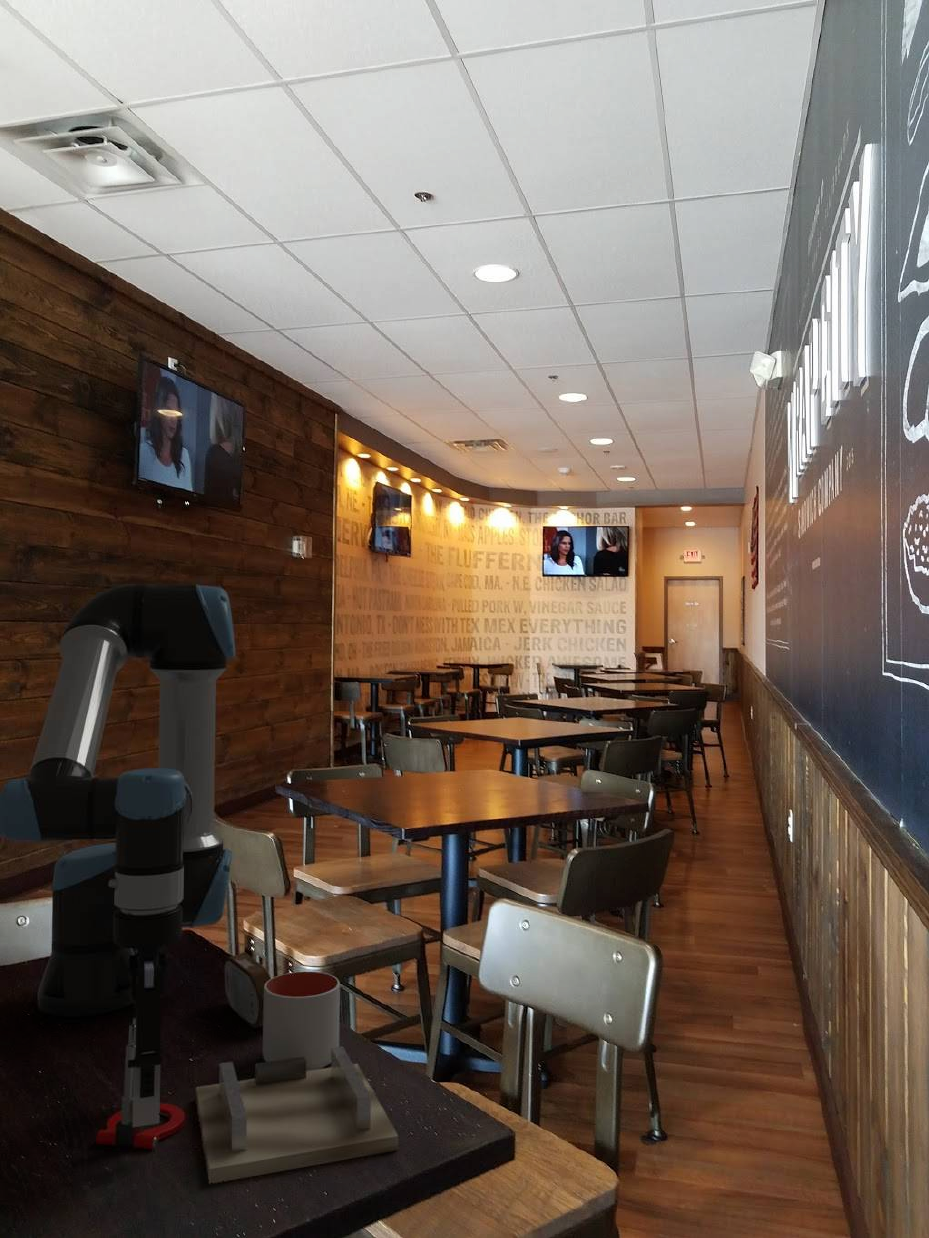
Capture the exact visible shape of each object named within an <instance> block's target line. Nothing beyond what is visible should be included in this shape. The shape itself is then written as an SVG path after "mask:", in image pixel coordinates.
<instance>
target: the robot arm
mask: <svg viewBox="0 0 929 1238" xmlns="http://www.w3.org/2000/svg"><path fill="white" fill-rule="evenodd" d="M232 616H233V615H232V610H231V603H230V598H229V595H228V593H227V591H226V590H225V589H224V588H222V587H219V586H215V585H214V586H210V585H203V584H145V583H144V584H142V583H141V584H140V583H126V584H120V585H116V586H114V587H111V588H108V589H106V590H104V591H102V592H101V593H98V594H96V595H94V596H93V598H91V599H90V600H88V601H87V602H85V604H83V606H81V607H80V608H79V609H78V610H77V611H76V613H74V615H73V616H72V617H71V619H70V620H69V622H68V623H67V624H66V626H65V628H64V631H63V633H62V635H61V638H60V639H61V640H60V642H59V654H60V655H59V656H60V658H61V660H62V662H61V664H60V665H61V666H60V669H59V672H58V676H57V678H56V683H55V685H54V688H53V693H52V696H51V700H50V702H49V705H48V709H47V713H46V714H45V719H44V723H43V726H42V729H41V732H40V737H39V740H38V742H37V746H36V749H35V752H34V756H33V759H32V763H31V764H30V765H31V766H30V769H29V772H28V776H27V778H26V777H21V778H13V779H9V780H7V781H6V783H5V784H3V786H2V788H1V790H0V834H1V835H2V837H3V838H4V839H6V840H7V841H15V842H33V843H34V842H36V843H42V842H46V841H47V842H48V841H49V842H50V841H53V842H54V841H75V840H77V841H78V840H115V842H109V843H103V844H97V845H90V846H87V847H84V848H80V849H76V850H73V851H70V852H68V853H66V854H64V855H62V856H61V857H59V859H58V860H57V861H56V862H55V864H54V868H53V869H54V870H53V880H52V885H51V888H50V889H51V891H52V901H51V902H52V903H51V905H52V906H51V911H52V912H51V952H50V956H49V959H48V961H47V965H46V967H45V970H44V973H43V976H42V979H41V981H40V985H39V987H38V989H37V990H38V991H37V1008H38V1010H39V1011H41V1012H42V1013H45V1014H47V1015H50V1016H54V1017H55V1016H56V1017H62V1018H63V1017H68V1018H69V1017H70V1018H75V1017H76V1018H77V1017H78V1018H79V1017H91V1016H96V1015H97V1016H98V1015H102V1014H107V1013H111V1012H115V1011H117V1010H121V1009H124V1008H127V1007H128V1006H130V1005H132V1004H133V1008H132V1013H133V1016H135V1017H132V1024H135V1025H136V1058H135V1059H134V1060H128V1068H133V1067H134V1080H133V1127H139V1126H140V1127H144V1126H145V1127H146V1126H150V1125H151V1126H152V1125H156V1124H157V1125H158V1124H160V1115H159V1113H160V1103H161V1098H160V1097H161V1064H162V1060H163V1055H161V1050H162V1048H161V1046H162V1045H161V1036H162V1035H161V1032H162V1031H161V1028H162V1027H161V1025H162V1024H161V1021H162V1020H161V1019H162V1018H161V1017H162V1015H161V1014H162V1012H163V1011H162V1001H161V1000H162V999H163V998H164V995H165V976H166V974H167V973H166V972H167V959H166V952H165V951H163V952H160V951H159V950H160V949H161V948H162V947H164V946H170V945H171V944H174V943H175V942H177V941H179V940H180V938H181V937H182V935H183V928H190V929H193V928H195V927H196V928H197V927H205V926H212V925H215V924H218V923H219V922H220V921H221V919H222V918H223V915H224V911H225V905H226V898H227V891H228V884H229V880H230V879H229V877H230V872H231V865H232V859H233V858H232V857H233V850H231V849H230V850H229V849H228V848H224V838H223V836H222V835H221V834H220V833H219V832H217V831H216V830H215V781H216V779H215V771H216V767H215V766H216V765H215V764H216V703H217V702H216V701H217V700H216V697H217V694H216V693H217V690H216V689H217V680H218V678H220V676H222V674H223V673H224V672H226V670H227V660H229V661H230V660H232V659H235V657H236V646H235V645H236V643H235V634H234V633H235V632H234V631H235V630H234V623H233V617H232ZM130 658H137V659H149V671H150V672H151V673H152V674H153V675H154V676H155V677H156V678H158V680H159V710H158V711H159V713H158V714H159V716H158V717H159V718H158V719H159V720H158V721H159V723H158V767H157V768H155V767H154V768H150V767H149V768H139V769H132V770H127V771H124V772H123V773H121V774H120V775H119V777H116V776H115V777H94V775H95V774H94V773H95V771H96V765H97V761H98V757H99V752H100V746H101V742H102V738H103V734H104V730H105V724H106V721H107V716H108V711H109V707H110V702H111V699H112V698H111V697H112V693H113V689H114V684H115V681H116V677H117V672H118V671H119V670H120V669H122V668H123V667H124V665H125V664H126V662H127V659H130ZM134 950H135V951H134Z"/></svg>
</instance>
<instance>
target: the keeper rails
mask: <svg viewBox="0 0 929 1238" xmlns="http://www.w3.org/2000/svg"><path fill="white" fill-rule="evenodd" d="M353 1064H354V1063H353V1062H352V1060H351V1058H350V1056H349V1055H348V1053H347V1050H345V1047H344V1045H343V1046H342V1045H341V1046H339V1047H334V1048H331V1063H330V1067H331V1078H332V1080H333V1082H334V1084H335V1086H336V1088H337V1090H338V1092H339V1094H340V1096H341V1099H342V1101H343V1103H344V1105H345V1107H346V1109H347V1111H348V1113H349V1115H350V1117H351V1119H352V1121H353V1123H354V1125H355V1128H356V1130H357V1131H360V1130H366V1129H370V1124H371V1096H370V1094H369V1092H368V1091H367V1089H366V1087H365V1085H364V1083H363V1082H362V1080H361V1078H360V1076H359V1074H358V1072H357V1071H356V1069H355V1067H354V1065H353ZM254 1066H255V1067H254V1068H255V1069H254V1071H255V1072H254V1079H255V1081H256V1085H257V1086H258V1085H265V1084H271V1083H278V1082H285V1081H291V1080H298V1079H305V1078H306V1060H305V1058H304V1057H298V1058H291V1059H284V1060H276V1061H269V1062H266V1061H264V1062H263V1061H262V1062H257V1063H255V1065H254ZM218 1076H219V1083H218V1084H219V1095H220V1100H221V1104H222V1109H223V1114H224V1118H225V1123H226V1128H227V1132H228V1137H229V1142H230V1146H231V1151H232V1152H238V1151H244V1150H246V1139H247V1115H246V1111H245V1107H244V1104H243V1100H242V1096H241V1092H240V1088H239V1084H238V1081H239V1080H238V1077H237V1074H236V1070H235V1066H234V1062H233V1061H226V1062H221V1063H219V1075H218Z"/></svg>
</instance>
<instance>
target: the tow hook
mask: <svg viewBox="0 0 929 1238" xmlns="http://www.w3.org/2000/svg"><path fill="white" fill-rule="evenodd" d="M127 1042H128V1043H127V1044H126V1045H125V1062H124V1063H125V1065H124V1066H125V1067H124V1086H123V1096H122V1099H121V1110H119V1111H117V1112H115V1113H114V1114H113V1115H111V1117H110V1118H108V1119H107V1123H106V1129H100V1130H99V1131H98V1133H97V1135H96V1140H95V1141H96V1144H97V1145H98V1144H99V1145H108V1146H116V1147H117V1148H123V1147H125V1149H135V1148H136V1149H146V1150H155V1149H156V1148H155V1146H156V1145H157V1146H158V1142H159V1141H160V1140H162V1139H165V1138H167V1137H169V1135H170V1136H171V1135H172V1136H173V1134H175V1133H177V1132H178V1131H180V1130H181V1129H182V1127H183V1126H184V1124H185V1121H184V1120H185V1118H186V1115H185V1112H184V1111H183V1109H181V1108H180V1107H179V1106H176V1105H174V1104H171V1103H163V1102H160V1112H161V1113H164V1114H167V1115H168V1116H169V1117H170V1119H169V1121H168V1122H166V1123H164V1124H162V1125H160V1126H157V1127H153V1128H148V1129H145V1130H144V1131H142V1132H141V1126H139V1127H133V1080H134V1067H133V1068H128V1060H134V1059H135V1058H136V1025H135V1024H133V1023H132V1024H130V1025H128V1041H127ZM182 1125H183V1126H182ZM176 1131H177V1132H176ZM157 1146H156V1147H157ZM134 1147H135V1148H134ZM154 1148H155V1149H154Z"/></svg>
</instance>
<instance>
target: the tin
mask: <svg viewBox="0 0 929 1238" xmlns="http://www.w3.org/2000/svg"><path fill="white" fill-rule="evenodd" d="M223 979H224V993H225V994H224V995H225V997H226V1000H227V1003H228V1005H229V1007H230V1008H231V1007H232V1009H234V1011H235V1012H236V1013H237V1014H239V1015H240V1016H241V1017H242V1018H243V1019H244V1020H245V1021H246V1022H247V1023H248V1024H250V1025H251V1026H252V1027H253V1028H252V1027H251V1028H252V1029H259V1028H263V1009H264V985H265V984H266V982H267V981H269V980H270V979H272V978H271V976H270V973H269V971H268V970H267V969H266V967H264V966H263V965H262V964H261V963H260V962H258V961H257V960H255V959H254V958H253V957H252V956H250V955H249V954H248V953H246V952H241V953H239V954H235V955H232V956H231V955H230V956H228V957H227V958H226V959H225V961H224V963H223ZM232 1009H231V1010H232ZM234 1011H233V1012H234ZM235 1012H234V1013H235ZM236 1013H235V1014H236ZM237 1014H236V1015H237ZM242 1018H241V1019H242ZM243 1019H242V1020H243ZM244 1020H243V1021H244ZM245 1021H244V1022H245ZM246 1022H245V1023H246ZM247 1023H246V1024H247ZM248 1024H247V1025H248Z"/></svg>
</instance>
